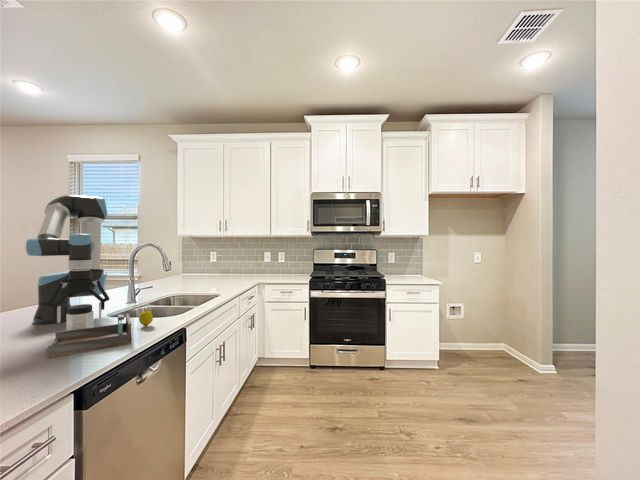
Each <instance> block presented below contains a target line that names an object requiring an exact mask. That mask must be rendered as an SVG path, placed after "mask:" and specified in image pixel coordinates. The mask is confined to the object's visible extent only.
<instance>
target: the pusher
mask: <svg viewBox="0 0 640 480" xmlns="http://www.w3.org/2000/svg"><path fill="white" fill-rule="evenodd" d="M123 320H125V315H124V314H117V324H118V335H121V334H122V323H123Z"/></svg>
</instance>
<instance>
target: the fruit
mask: <svg viewBox="0 0 640 480" xmlns="http://www.w3.org/2000/svg"><path fill="white" fill-rule="evenodd" d="M153 320H154V316H153V313H152V311H149V310H148V309H145V310H144V311H142V312H141V313H140V315H139V318H138V321H139V324H141V326H142V325H143V327H145V328H146V327H148V326H149V325H150V324H151V323H152V322H153Z"/></svg>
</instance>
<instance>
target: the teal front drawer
mask: <svg viewBox="0 0 640 480" xmlns="http://www.w3.org/2000/svg"><path fill="white" fill-rule="evenodd" d="M126 345H132V321H131V317H130V314H129V313H125V322H124V323H123V322H122V334H121V335H118V323H114V324H109V325H100V326H93V327H92V328H85V329H77V330H70V331H66V330H65V331H64V330H63V331H56V332H55V338H54V341H53V343H52V345H48V347H47V349H48V350H47V353H48V354H47V355H48V356H47V357H48V359H51V358H57V357H58V358H59V357H64V356H69V355H75V354H81V353H85V352H86V353H87V352H91V351H97V350H98V351H99V350H103V349H104V350H105V349H110V348H115V347H121V346H126Z"/></svg>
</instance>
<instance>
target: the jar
mask: <svg viewBox="0 0 640 480" xmlns="http://www.w3.org/2000/svg"><path fill="white" fill-rule="evenodd" d="M65 322H66V324H65V325H66V327H65V328H66V330H65V331H70V330H77V329H85V328H92V327H94V310H93V305H92V304H87V303H86V304H85V303H84V304H76V305H71V306H70V307H68V314H66V321H65Z"/></svg>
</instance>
